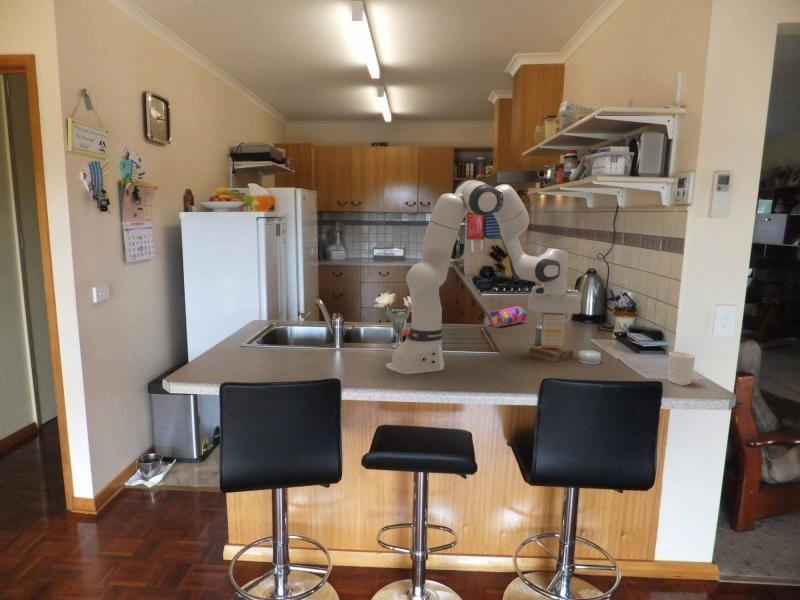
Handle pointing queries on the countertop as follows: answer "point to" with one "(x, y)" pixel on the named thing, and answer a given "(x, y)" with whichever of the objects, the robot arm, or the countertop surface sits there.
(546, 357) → the podium
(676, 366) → the white cup
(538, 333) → the spice tin
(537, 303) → the robot arm
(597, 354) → the ramekin
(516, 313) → the pencil case
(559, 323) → the supplement box
